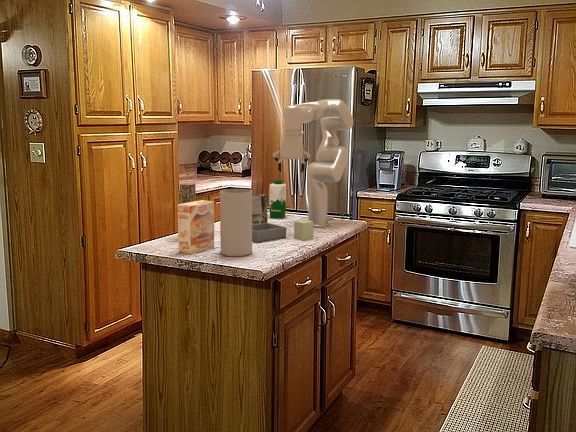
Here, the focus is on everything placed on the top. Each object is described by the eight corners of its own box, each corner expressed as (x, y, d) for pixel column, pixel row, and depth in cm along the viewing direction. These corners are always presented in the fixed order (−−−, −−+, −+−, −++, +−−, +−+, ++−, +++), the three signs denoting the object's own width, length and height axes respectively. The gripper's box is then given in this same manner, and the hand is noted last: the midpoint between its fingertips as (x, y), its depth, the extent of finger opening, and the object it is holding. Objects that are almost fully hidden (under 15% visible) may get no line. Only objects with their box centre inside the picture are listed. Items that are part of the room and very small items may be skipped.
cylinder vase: (216, 251, 230) (215, 189, 226) (245, 248, 235) (245, 188, 231) (226, 258, 219) (225, 193, 215) (256, 255, 224) (256, 192, 220)
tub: (267, 233, 266) (267, 222, 265) (286, 237, 256) (286, 227, 255) (238, 237, 255) (238, 226, 255) (257, 243, 246) (257, 231, 245)
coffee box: (263, 229, 275) (263, 196, 272) (250, 229, 276) (250, 196, 273) (268, 226, 284) (268, 194, 281) (255, 225, 285) (255, 193, 282)
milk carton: (286, 216, 311) (287, 179, 308) (284, 219, 303) (284, 181, 299) (271, 215, 313) (271, 179, 309) (267, 218, 304) (267, 181, 301)
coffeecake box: (191, 254, 224) (190, 205, 221) (177, 252, 228) (176, 204, 225) (215, 247, 237) (214, 201, 233) (202, 245, 241) (201, 199, 237)
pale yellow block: (303, 237, 259) (304, 219, 257) (313, 239, 254) (313, 221, 253) (294, 238, 255) (294, 221, 254) (303, 241, 250) (303, 223, 249)
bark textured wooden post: (199, 237, 255) (198, 182, 251) (190, 240, 249) (189, 183, 245) (186, 236, 258) (185, 181, 254) (177, 239, 252) (176, 182, 248)
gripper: (311, 134, 258) (310, 172, 261) (273, 133, 258) (272, 171, 261) (311, 134, 251) (310, 173, 253) (272, 133, 251) (271, 172, 254)
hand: (291, 172), depth 257 cm, fingers open, 9 cm apart
